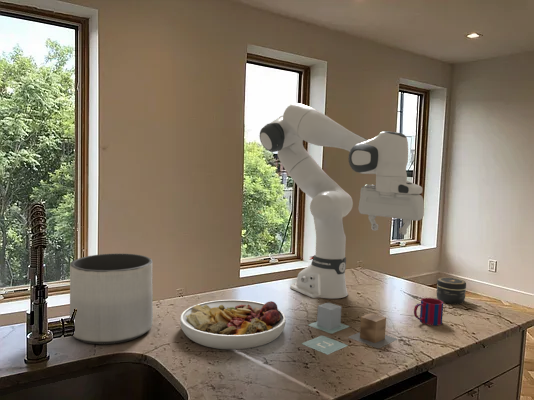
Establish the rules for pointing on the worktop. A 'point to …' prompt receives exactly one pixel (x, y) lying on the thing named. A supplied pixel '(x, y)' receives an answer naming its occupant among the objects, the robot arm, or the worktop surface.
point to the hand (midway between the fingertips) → (388, 232)
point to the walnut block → (372, 327)
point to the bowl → (233, 323)
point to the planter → (111, 297)
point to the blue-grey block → (329, 316)
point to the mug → (430, 311)
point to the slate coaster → (376, 345)
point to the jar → (451, 290)
